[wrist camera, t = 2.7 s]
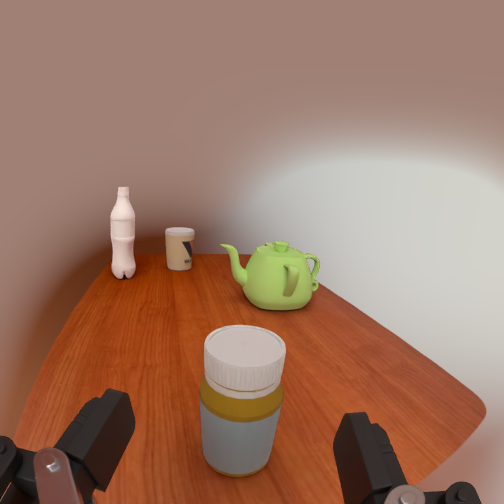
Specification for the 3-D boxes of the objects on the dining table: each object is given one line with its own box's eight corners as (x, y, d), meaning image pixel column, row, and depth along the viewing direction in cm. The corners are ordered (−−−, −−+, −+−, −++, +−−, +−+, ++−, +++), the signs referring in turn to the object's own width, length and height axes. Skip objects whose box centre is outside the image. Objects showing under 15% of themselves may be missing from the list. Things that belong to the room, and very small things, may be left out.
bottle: (281, 452, 24) (308, 342, 21) (240, 490, 19) (253, 385, 16) (232, 423, 28) (240, 315, 25) (189, 453, 23) (179, 341, 20)
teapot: (323, 299, 70) (332, 244, 67) (285, 327, 54) (294, 257, 51) (263, 281, 81) (268, 231, 78) (216, 299, 65) (218, 239, 62)
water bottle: (140, 274, 77) (140, 187, 71) (128, 281, 70) (127, 187, 64) (120, 271, 78) (120, 186, 72) (107, 278, 71) (105, 187, 65)
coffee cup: (188, 272, 83) (189, 233, 80) (160, 269, 83) (160, 230, 81) (197, 264, 92) (198, 228, 89) (171, 261, 93) (171, 226, 90)
